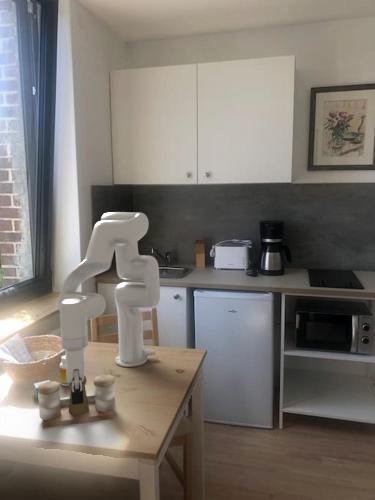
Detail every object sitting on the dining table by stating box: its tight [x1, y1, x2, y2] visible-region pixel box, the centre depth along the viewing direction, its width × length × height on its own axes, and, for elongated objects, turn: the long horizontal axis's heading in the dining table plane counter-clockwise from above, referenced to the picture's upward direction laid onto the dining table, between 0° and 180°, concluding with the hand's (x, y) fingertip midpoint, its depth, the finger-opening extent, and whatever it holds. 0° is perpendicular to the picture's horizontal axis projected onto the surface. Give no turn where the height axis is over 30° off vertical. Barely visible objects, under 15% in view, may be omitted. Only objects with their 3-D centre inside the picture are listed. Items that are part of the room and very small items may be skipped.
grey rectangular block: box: [33, 379, 50, 400], centre depth 142 cm, size 5×4×4 cm
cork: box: [68, 374, 89, 415], centre depth 128 cm, size 6×6×11 cm
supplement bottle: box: [59, 354, 70, 387], centre depth 150 cm, size 5×5×10 cm
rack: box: [38, 374, 116, 429], centre depth 129 cm, size 22×10×10 cm, turn 105°
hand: (77, 395), depth 128 cm, fingers open, 9 cm apart
